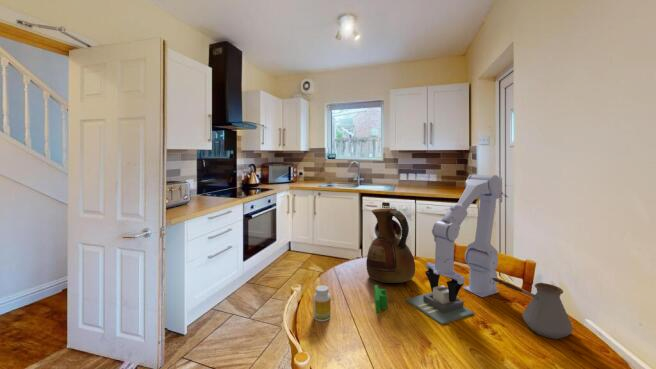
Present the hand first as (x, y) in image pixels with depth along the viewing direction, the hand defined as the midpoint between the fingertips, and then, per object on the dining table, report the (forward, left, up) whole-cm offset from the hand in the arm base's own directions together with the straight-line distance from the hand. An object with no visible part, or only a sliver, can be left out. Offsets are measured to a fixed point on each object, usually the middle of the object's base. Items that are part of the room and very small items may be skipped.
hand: (443, 296), depth 94 cm
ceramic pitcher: (+3, -25, -4) cm, 25 cm away
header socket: (+2, 0, -3) cm, 4 cm away
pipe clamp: (+19, -10, -4) cm, 21 cm away
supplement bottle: (+40, -11, -4) cm, 42 cm away
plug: (0, 0, -3) cm, 4 cm away
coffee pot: (-12, +20, -4) cm, 24 cm away
